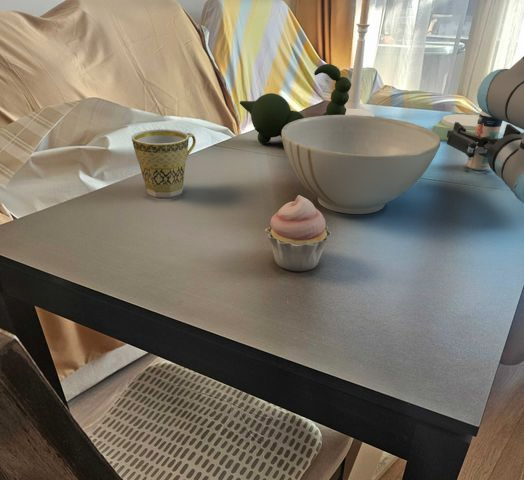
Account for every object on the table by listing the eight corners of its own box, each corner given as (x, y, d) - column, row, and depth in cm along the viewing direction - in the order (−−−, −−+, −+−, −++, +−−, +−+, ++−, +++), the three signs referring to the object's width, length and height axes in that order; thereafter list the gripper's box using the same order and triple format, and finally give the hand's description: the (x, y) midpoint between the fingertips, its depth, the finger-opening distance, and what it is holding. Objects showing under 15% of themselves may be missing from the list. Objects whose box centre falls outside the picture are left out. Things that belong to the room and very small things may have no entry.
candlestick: (322, 117, 146) (333, -10, 128) (342, 109, 155) (355, -11, 137) (362, 124, 141) (379, -8, 123) (381, 116, 149) (400, -8, 131)
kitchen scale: (497, 134, 135) (502, 118, 133) (486, 147, 125) (490, 130, 123) (445, 126, 141) (448, 111, 138) (430, 138, 131) (433, 121, 128)
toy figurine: (338, 151, 125) (241, 134, 128) (355, 65, 114) (248, 47, 116) (335, 162, 118) (232, 143, 120) (353, 71, 106) (238, 53, 109)
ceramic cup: (161, 205, 90) (155, 147, 84) (127, 191, 95) (120, 135, 89) (214, 188, 98) (212, 133, 92) (180, 175, 103) (177, 123, 97)
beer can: (469, 163, 114) (485, 105, 107) (491, 167, 112) (508, 108, 105) (462, 168, 111) (478, 109, 104) (484, 172, 109) (502, 112, 102)
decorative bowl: (256, 215, 87) (257, 142, 80) (304, 170, 107) (308, 109, 100) (413, 243, 80) (430, 165, 72) (433, 189, 100) (448, 124, 92)
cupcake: (267, 246, 78) (269, 181, 72) (327, 250, 77) (335, 185, 71) (260, 275, 70) (262, 205, 64) (327, 280, 70) (335, 210, 64)
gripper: (447, 178, 96) (424, 145, 113) (570, 183, 95) (528, 149, 112) (457, 136, 91) (431, 109, 109) (586, 141, 90) (540, 113, 108)
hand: (480, 129), depth 111 cm, fingers open, 10 cm apart
